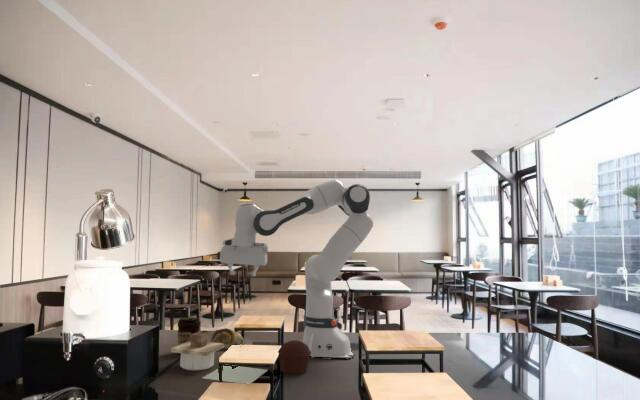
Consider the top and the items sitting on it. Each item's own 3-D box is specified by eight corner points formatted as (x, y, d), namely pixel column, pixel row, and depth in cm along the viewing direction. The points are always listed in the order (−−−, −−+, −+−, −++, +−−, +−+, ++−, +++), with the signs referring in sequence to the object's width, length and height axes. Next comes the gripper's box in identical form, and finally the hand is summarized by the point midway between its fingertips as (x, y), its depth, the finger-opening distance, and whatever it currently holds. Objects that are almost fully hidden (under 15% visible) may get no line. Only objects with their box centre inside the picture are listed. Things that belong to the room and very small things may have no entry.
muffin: (301, 379, 138) (303, 347, 139) (271, 374, 142) (272, 343, 143) (314, 369, 149) (316, 340, 150) (286, 365, 153) (287, 336, 154)
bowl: (219, 365, 149) (220, 347, 150) (203, 374, 139) (204, 355, 139) (190, 361, 152) (192, 344, 152) (173, 370, 141) (174, 351, 142)
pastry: (209, 351, 167) (211, 330, 168) (208, 343, 179) (209, 324, 180) (246, 350, 171) (247, 329, 172) (242, 343, 183) (243, 324, 184)
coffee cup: (191, 356, 158) (193, 320, 159) (170, 354, 159) (173, 319, 161) (202, 351, 166) (204, 317, 168) (182, 349, 168) (185, 315, 169)
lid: (224, 347, 151) (225, 332, 151) (206, 356, 138) (207, 339, 138) (191, 343, 154) (192, 328, 154) (170, 352, 141) (171, 335, 142)
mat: (268, 371, 144) (268, 369, 144) (249, 386, 129) (249, 384, 129) (225, 366, 148) (225, 364, 148) (201, 379, 133) (201, 378, 133)
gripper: (270, 243, 180) (268, 276, 178) (226, 241, 185) (224, 273, 183) (265, 243, 174) (263, 277, 172) (219, 241, 179) (217, 274, 177)
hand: (242, 275), depth 178 cm, fingers open, 8 cm apart
